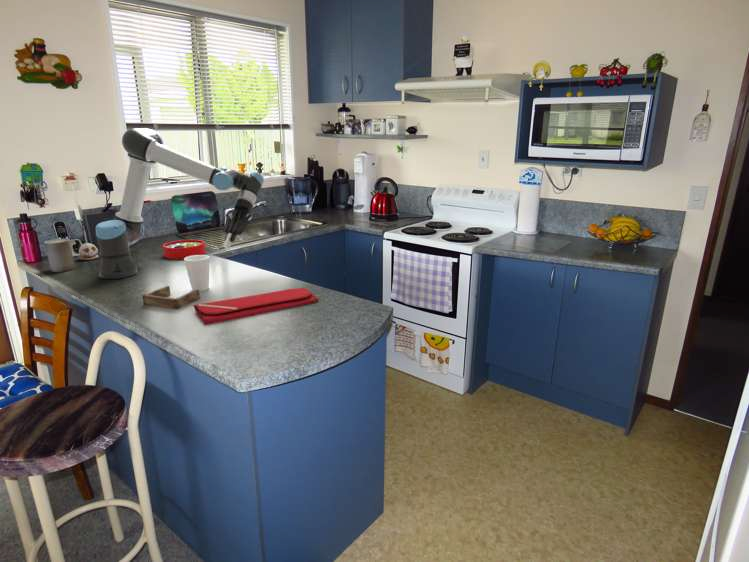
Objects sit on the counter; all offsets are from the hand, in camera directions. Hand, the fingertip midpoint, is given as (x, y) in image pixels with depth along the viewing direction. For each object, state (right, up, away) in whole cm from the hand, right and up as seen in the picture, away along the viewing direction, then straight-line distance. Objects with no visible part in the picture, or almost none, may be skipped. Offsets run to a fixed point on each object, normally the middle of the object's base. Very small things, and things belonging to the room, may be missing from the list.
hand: (226, 247), depth 204 cm
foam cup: (-7, -18, -12) cm, 22 cm away
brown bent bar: (-12, -22, -25) cm, 35 cm away
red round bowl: (-35, -1, +44) cm, 57 cm away
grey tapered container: (-82, -9, +18) cm, 84 cm away
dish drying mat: (+21, -24, -31) cm, 45 cm away
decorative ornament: (-80, -3, +37) cm, 89 cm away
